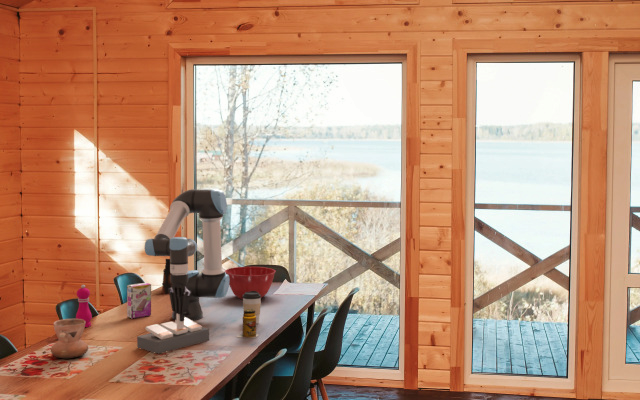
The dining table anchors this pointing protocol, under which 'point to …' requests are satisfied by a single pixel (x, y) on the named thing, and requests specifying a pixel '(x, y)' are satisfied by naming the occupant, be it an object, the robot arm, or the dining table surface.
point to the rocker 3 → (190, 325)
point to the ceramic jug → (69, 338)
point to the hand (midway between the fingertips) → (180, 328)
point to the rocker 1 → (159, 331)
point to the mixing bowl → (250, 280)
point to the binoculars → (166, 278)
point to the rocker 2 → (173, 328)
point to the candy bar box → (138, 300)
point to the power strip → (172, 341)
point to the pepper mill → (84, 306)
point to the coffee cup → (252, 302)
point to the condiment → (249, 324)
